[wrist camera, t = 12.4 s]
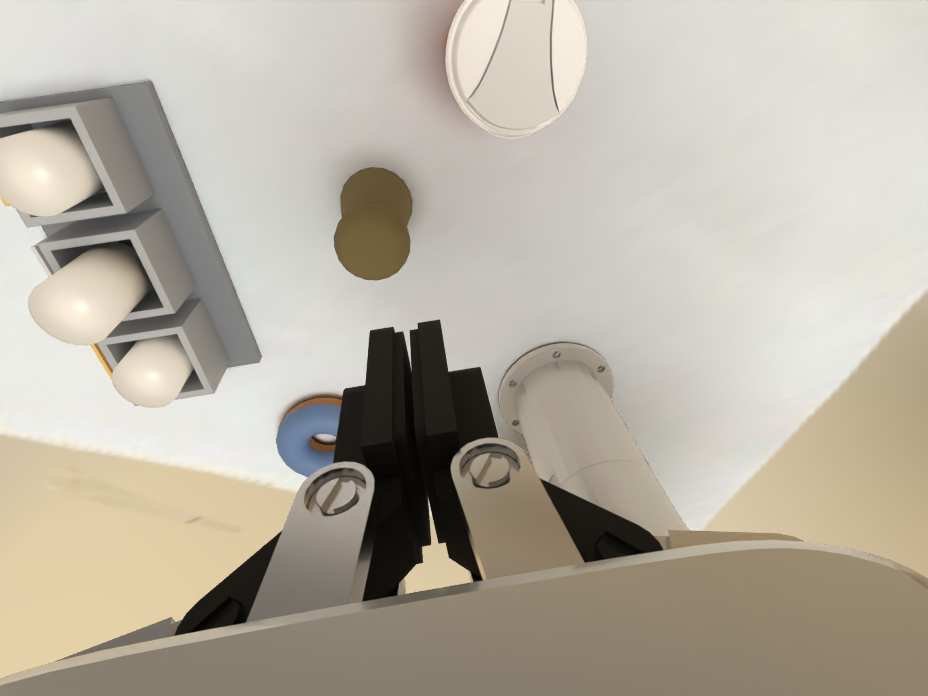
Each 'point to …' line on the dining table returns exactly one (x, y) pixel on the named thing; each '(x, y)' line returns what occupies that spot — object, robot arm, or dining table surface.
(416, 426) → the robot arm
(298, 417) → the doughnut
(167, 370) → the button
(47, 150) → the button
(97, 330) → the button mid
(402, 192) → the cork
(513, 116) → the paper cup
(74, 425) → the dining table surface
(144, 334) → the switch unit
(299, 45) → the dining table surface
